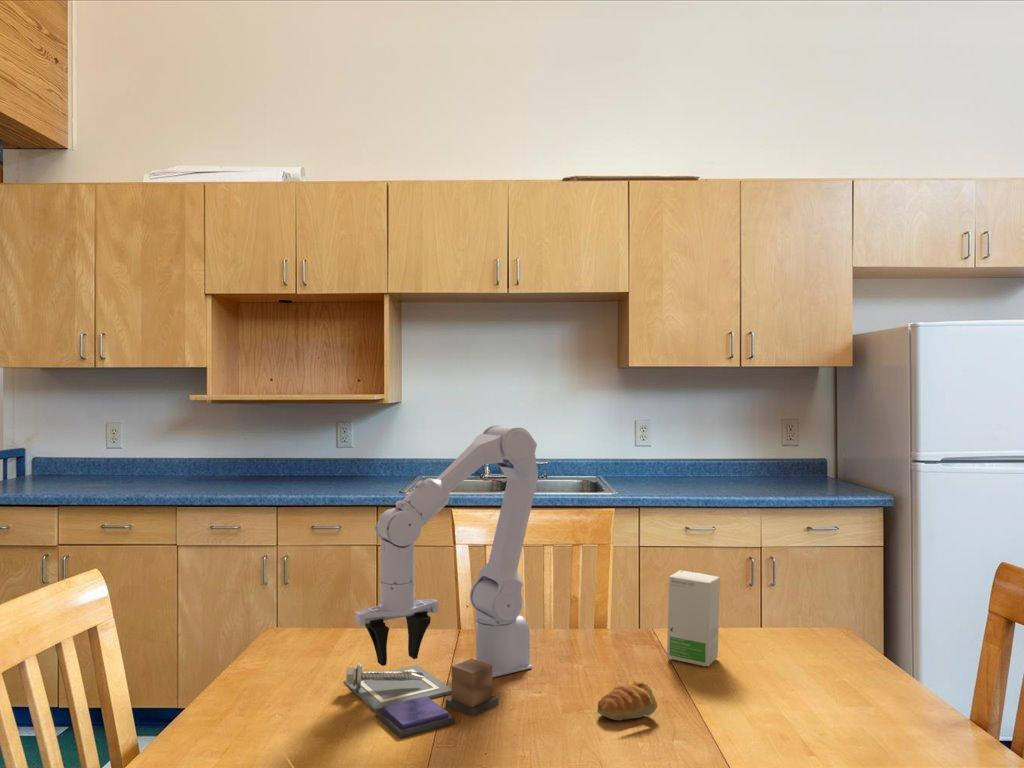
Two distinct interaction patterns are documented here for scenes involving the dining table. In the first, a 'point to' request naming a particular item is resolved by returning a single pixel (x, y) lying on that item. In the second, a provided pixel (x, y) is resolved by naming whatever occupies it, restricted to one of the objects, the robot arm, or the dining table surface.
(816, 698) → the dining table surface
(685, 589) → the skincare box
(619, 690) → the pastry
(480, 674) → the stamp
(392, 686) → the marked board
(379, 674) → the screw
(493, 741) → the dining table surface
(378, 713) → the ink pad
